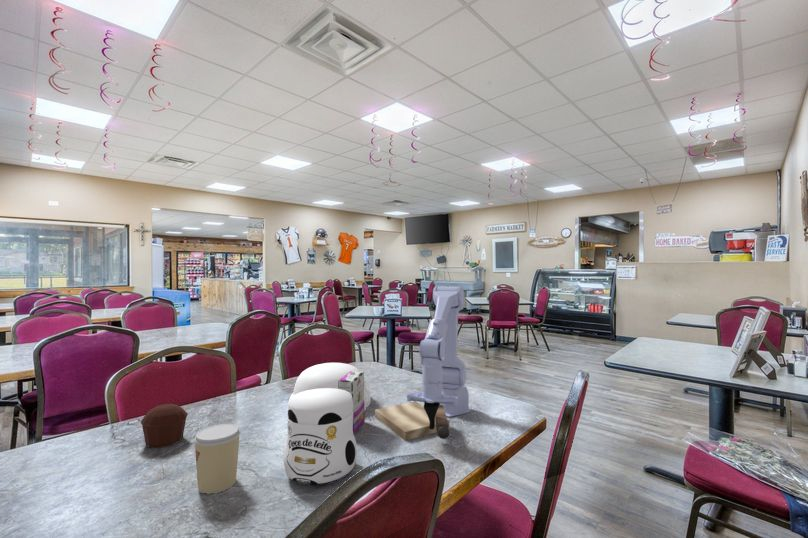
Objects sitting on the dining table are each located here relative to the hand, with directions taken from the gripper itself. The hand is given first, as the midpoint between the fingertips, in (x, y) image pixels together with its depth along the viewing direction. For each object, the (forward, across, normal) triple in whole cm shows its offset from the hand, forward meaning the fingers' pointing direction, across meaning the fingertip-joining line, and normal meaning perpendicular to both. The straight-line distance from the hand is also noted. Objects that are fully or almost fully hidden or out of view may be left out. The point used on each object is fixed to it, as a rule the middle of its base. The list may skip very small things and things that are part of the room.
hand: (432, 428), depth 104 cm
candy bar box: (+4, -26, +2) cm, 26 cm away
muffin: (+4, -75, -20) cm, 77 cm away
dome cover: (+4, -43, +21) cm, 48 cm away
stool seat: (+4, -9, +11) cm, 15 cm away
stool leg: (0, +2, +3) cm, 4 cm away
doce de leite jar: (+4, -23, -23) cm, 33 cm away
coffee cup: (+4, -43, -34) cm, 55 cm away
